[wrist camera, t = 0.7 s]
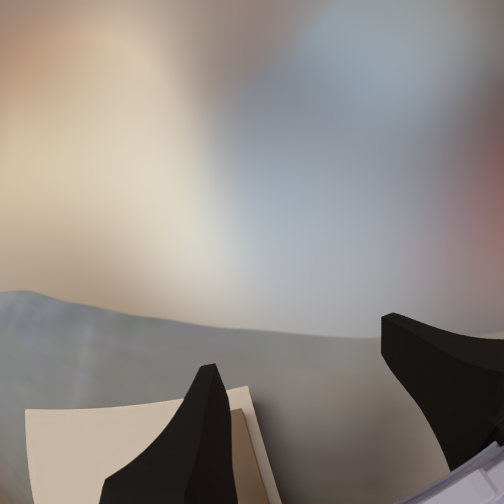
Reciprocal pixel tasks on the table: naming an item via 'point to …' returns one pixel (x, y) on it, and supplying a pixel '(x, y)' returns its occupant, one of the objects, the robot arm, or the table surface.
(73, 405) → the table surface
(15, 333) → the table surface
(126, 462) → the lid
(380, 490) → the table surface
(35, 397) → the table surface
